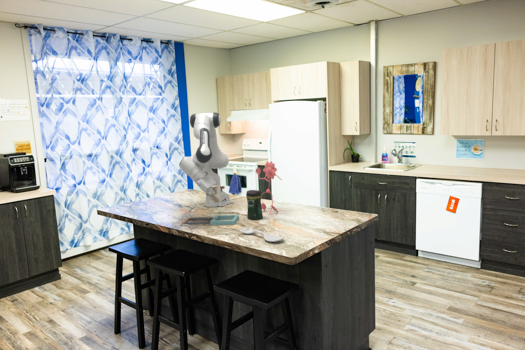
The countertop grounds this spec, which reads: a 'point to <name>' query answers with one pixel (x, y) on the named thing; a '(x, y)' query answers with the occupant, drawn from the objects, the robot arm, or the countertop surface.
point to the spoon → (266, 236)
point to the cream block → (217, 196)
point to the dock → (224, 222)
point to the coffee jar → (254, 204)
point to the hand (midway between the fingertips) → (216, 192)
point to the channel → (197, 219)
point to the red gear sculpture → (269, 173)
